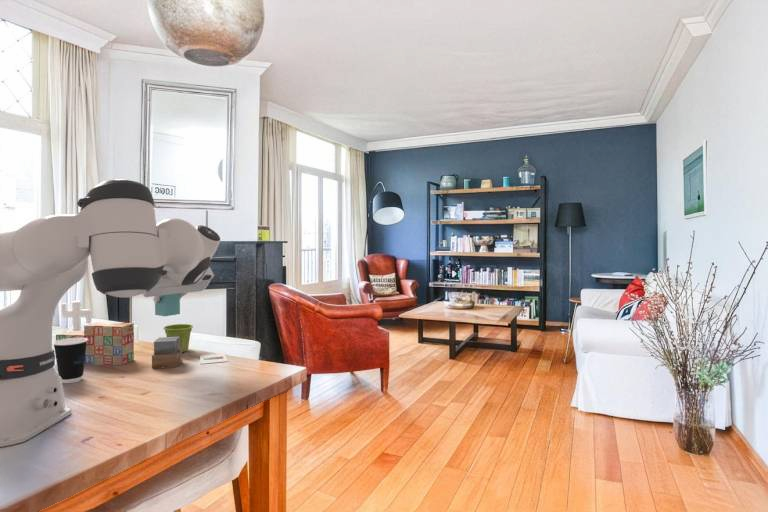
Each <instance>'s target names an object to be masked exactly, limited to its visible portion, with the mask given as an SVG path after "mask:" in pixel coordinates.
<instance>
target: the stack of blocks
mask: <svg viewBox="0 0 768 512" xmlns="http://www.w3.org/2000/svg"><path fill="white" fill-rule="evenodd" d="M83 328H84V331H67V330H66V331H67V332H65V331H64V332H61V333H57V334H55V341H57V340H61V339H67V338H87V339H88V341H87V343H86V352H85V361H84V365H101V364H102V366H103V365H105V366H106V365H107V366H123V364H124V365H125V363H126V364H128V363H130V362H133V361H134V360H135V351H134V350H135V349H134V347H135V344H134V343H135V342H134V341H135V323H133V322H124V321H122V322H121V321H115V322H114V321H112V322H110V321H106V322H105V321H96V322H93V323H92V322H91V323H87V324H85V325H83ZM129 361H130V362H129ZM127 362H128V363H127Z"/></svg>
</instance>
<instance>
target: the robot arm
mask: <svg viewBox="0 0 768 512" xmlns="http://www.w3.org/2000/svg"><path fill="white" fill-rule="evenodd" d="M76 205H77V206H78V207H80V209H79V210H80V211H79V212H78V213H75V214H51V215H47V216H43V217H40V218H37V219H34V220H31V221H30V222H28V223H27V224H25V225H23V226H21V227H20V228H19V229H17V230H12V231H6V232H2V233H0V292H10V291H11V292H12V291H13V292H14V291H20V294H19V296H18V297H17V300H16V301H14V302H13V303H12V304H10V305H8V306H6V307H3V308H2V309H0V448H2V447H8V446H12V445H17V444H20V443H24V442H27V441H28V440H30V439H31V438H34V437H35V436H36V435H39V434H40V433H42V432H43V431H44V430H45V431H46V429H48V428H50V427H51V426H53V425H55V424H56V423H58V422H60V421H61V420H63V419H65V418H66V417H68V416H70V415H71V414H72V408H70V407H68V406H66V405H65V395H64V387H63V383H62V378H61V377H60V376H59V374H58V373H57V372H56V369H55V368H54V366H55V365H56V364H55V362H56V361H55V360H56V355H55V349H53V341H52V340H53V323H54V322H53V321H54V315H55V311H56V309H57V307H58V305H59V303H60V301H61V300H62V298H63V296H65V294H66V293H67V291H69V290H70V288H72V287H74V285H77V283H79V282H80V281H82V279H83V278H84V276H85V275H86V274H87V270H88V268H89V267H88V266H89V259H88V258H89V256H90V260H91V267H92V271H93V272H92V273H91V277H92V280H93V283H94V284H93V285H94V287H95V288H96V291H98V292H99V293H101V294H102V295H108V296H111V297H115V298H125V299H126V298H132V297H137V296H140V295H141V294H142V296H143V297H144V298H149V297H153V298H152V300H153V303H154V304H155V303H160V302H161V301H162V298H161V296H162V295H171V294H180V300H181V299H182V298H183V297H184V296H186V295H187V294H189V293H196V292H198V293H199V292H202V291H204V290H206V288H207V287H208V286H209V284H210V282H211V281H212V279H213V278H214V277H215V274H214V272H213V270H212V268H211V260H212V259H213V257H214V255H215V254H216V251H217V250H218V248H219V246H220V243H221V237H220V235H219V234H218V233H217V232H216V231H215V230H214V229H211V228H210V227H208V226H206V225H202V224H201V225H197V226H194V225H193V224H191V223H190V222H189V221H186V220H184V219H181V218H177V217H176V218H172V217H171V218H167V219H163V220H161V221H159V222H158V223H157V220H156V215H155V210H154V209H155V208H154V207H155V206H156V205H155V201H154V198H153V194H152V192H151V190H150V188H149V186H148V187H147V186H146V185H145V184H143V183H141V182H138V181H134V180H131V179H130V180H129V179H123V178H122V179H121V178H120V179H119V178H118V179H111V180H110V179H109V180H105V181H102V182H100V183H98V184H97V185H95V186H94V187H93V188H91V189H90V190H89V191H88V192H87V194H86V196H85V197H82V198H79V199H78V201H77V202H76Z"/></svg>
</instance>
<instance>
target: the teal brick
mask: <svg viewBox="0 0 768 512" xmlns="http://www.w3.org/2000/svg"><path fill="white" fill-rule="evenodd" d="M161 298H162V301H161V302H160V303H155V302H154V315H155V316H159V317H169V316H177V315H180V314H181V301H180V300H181V299H180V294H171V295H162V296H161Z"/></svg>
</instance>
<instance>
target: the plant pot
mask: <svg viewBox="0 0 768 512" xmlns="http://www.w3.org/2000/svg"><path fill="white" fill-rule="evenodd" d="M193 328H194V325H192V324H191V323H190V324H188V323H177V324H175V323H174V324H169V325H165V326H163V330H164V333H165V337H179V340H180V349H182V353H183V352H184V353H185V352H188V351H189V344H190V339H191V332H192V329H193Z"/></svg>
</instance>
